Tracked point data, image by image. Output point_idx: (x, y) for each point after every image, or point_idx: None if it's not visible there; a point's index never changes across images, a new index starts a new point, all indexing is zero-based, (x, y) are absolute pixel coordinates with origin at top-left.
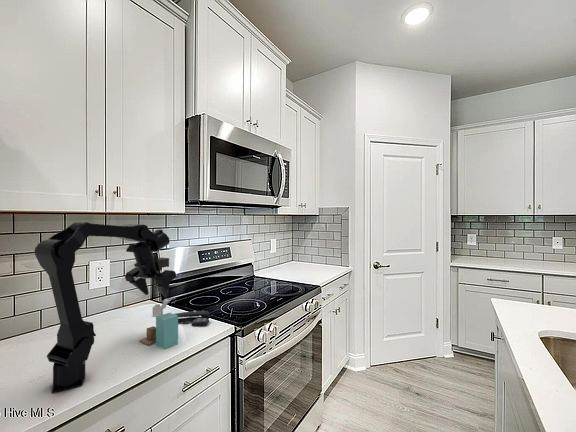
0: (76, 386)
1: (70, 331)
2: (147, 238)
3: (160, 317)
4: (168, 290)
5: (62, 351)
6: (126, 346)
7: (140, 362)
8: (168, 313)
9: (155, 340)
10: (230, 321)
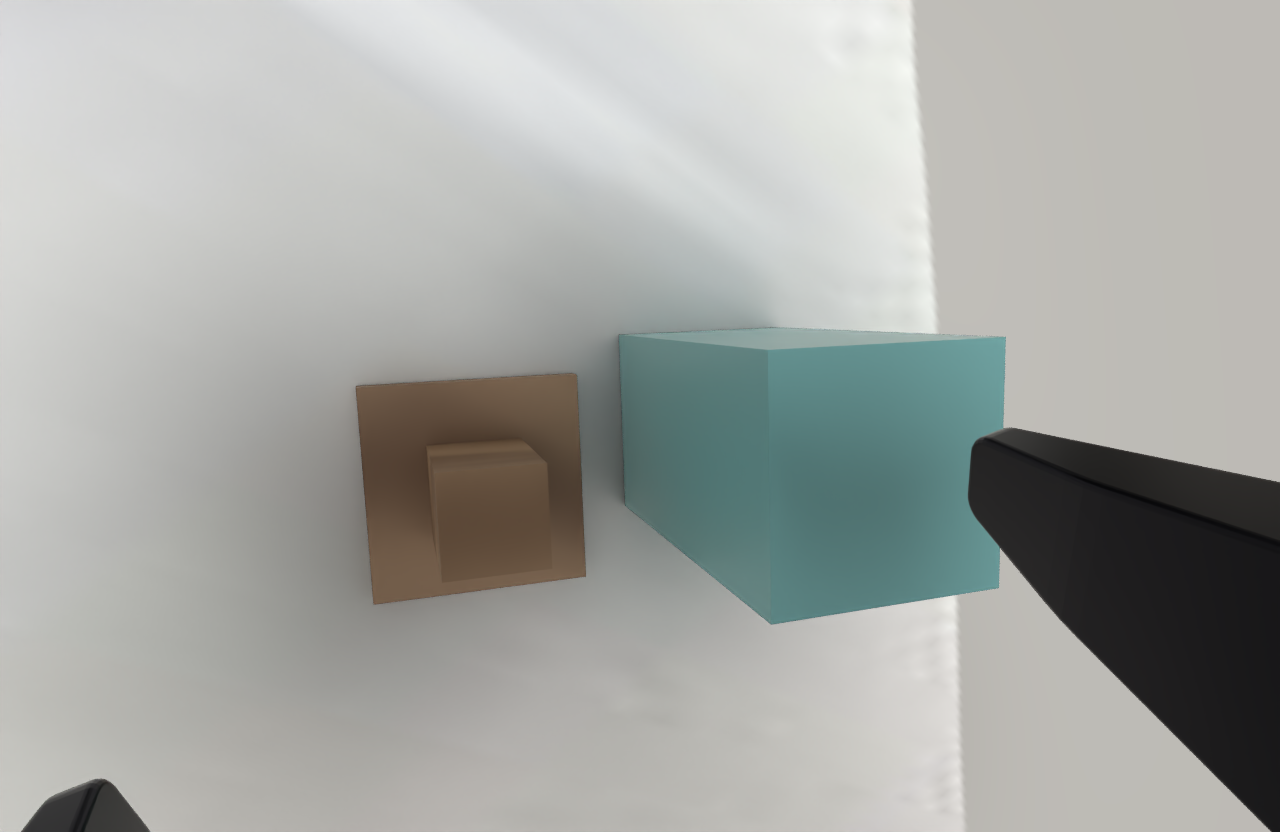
0: None
1: None
2: None
3: (862, 585)
4: (1258, 482)
5: None
6: (389, 747)
7: (834, 744)
8: (793, 387)
9: (552, 478)
10: None
